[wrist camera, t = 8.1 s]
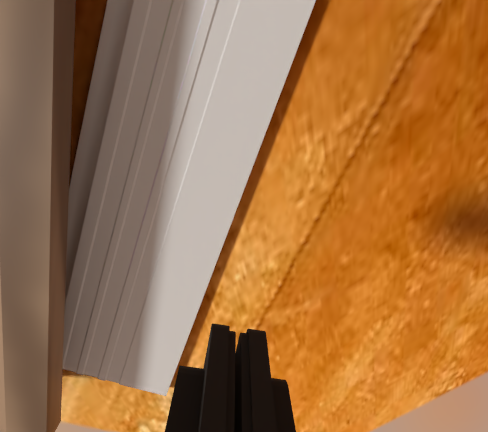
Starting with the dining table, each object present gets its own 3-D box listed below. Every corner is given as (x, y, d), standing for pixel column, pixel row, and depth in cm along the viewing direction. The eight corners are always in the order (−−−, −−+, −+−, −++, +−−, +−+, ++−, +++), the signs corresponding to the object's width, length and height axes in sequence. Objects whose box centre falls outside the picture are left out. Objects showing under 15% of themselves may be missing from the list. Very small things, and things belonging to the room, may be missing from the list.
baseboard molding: (22, 342, 27) (169, 380, 28) (-2, 370, 24) (162, 411, 26) (110, -130, 17) (324, -31, 19) (86, -173, 14) (339, -53, 16)
